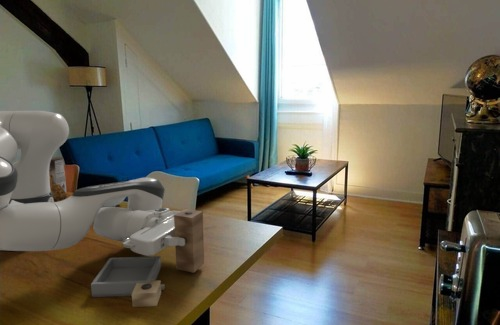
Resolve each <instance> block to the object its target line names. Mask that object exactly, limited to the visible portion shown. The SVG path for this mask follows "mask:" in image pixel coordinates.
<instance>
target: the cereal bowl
mask: <svg viewBox="0 0 500 325" xmlns="http://www.w3.org/2000/svg"><path fill="white" fill-rule="evenodd" d="M126 198H127V197H122V198H117V199H111V200H108V201H107V202H105V203H104V204H103V205H102V207H101V208H103V207H117V206H118V205H120V204H122V203H123V202H124V201H125V199H126Z"/></svg>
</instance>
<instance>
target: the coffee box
mask: <svg viewBox="0 0 500 325" xmlns="http://www.w3.org/2000/svg"><path fill="white" fill-rule="evenodd" d="M50 174H52V175H53V177H52V179H51V180H52V185H54V184H59V185H61V187H62V188H63V190H64V191H65V193H67V182H66V172H65V160H64V157H55V156H52V158H51V161H50V166H49V175H50Z"/></svg>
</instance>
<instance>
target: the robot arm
mask: <svg viewBox="0 0 500 325" xmlns="http://www.w3.org/2000/svg"><path fill="white" fill-rule="evenodd" d="M69 134H70V127H69V124H68V122H67V120H66V118H65V117H64V116H63V114H60V113H59V112H58V113H57V112H51V111H46V110H0V251H8V252H9V251H13V252H42V251H45V252H46V251H55V250H63V249H66V248H71V247H73V246H75V245H77V244H78V243H79V242H81V241H82V240H83V239H84V238H85V237H86V235H87V234H88V232H89V231H90V229H91V227H92V228H93V231H94V233H95V234H96V235H98V236H100V237H103V238H105V239H108V240H111V241H116V242H121V244H122V246H123V247H124V248H127V249H130V251H132V252H133V253H136V254H139V255H142V256H144V257H153V256H155V255H157V254H158V253H159V252H161V251H162V250H164V249H165V248H167V247H175V246H177V245H179V246H184V245H185V244H186V243H187V238H186V237H183V236H180V237H175V227H174V215H175V214H177V213H179V212H181V211H182V210H181V211H180V210H171V209H170V208H168V207H162V206H163V199H164V195H165V191H166V189H165V187H164V186H163V184H162V183H161V181H160V180H159V179H156V178H154V177H147V176H146V177H140V178H136V179H131V180H128V181H127V180H126V181H118V182H111V183H104V184H97V185H96V184H95V185H90V186H85V187H81V188H78V189H76V190H74V192H73V193H72V194H71V195H70V196H68V198H67V199H65V200H62V201H59V202H54V200H53V194H52V191H51V190H50V179H49V166H50V161H51V158H52V157H54V155H55V153H56V151H57V150H58V149H60V147H61V146H63V145H64V143H66V142H67V140H68V138H69ZM18 150H20V156H19V159H18V160H17V161H15V159H16V158H17V155H18ZM14 161H15V162H14ZM122 197H126V198H127V207H119V206H116V207H103V208H101V207H102V205H103V204H104V203H105V202H107V201H108V200H111V199H117V198H122Z"/></svg>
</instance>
